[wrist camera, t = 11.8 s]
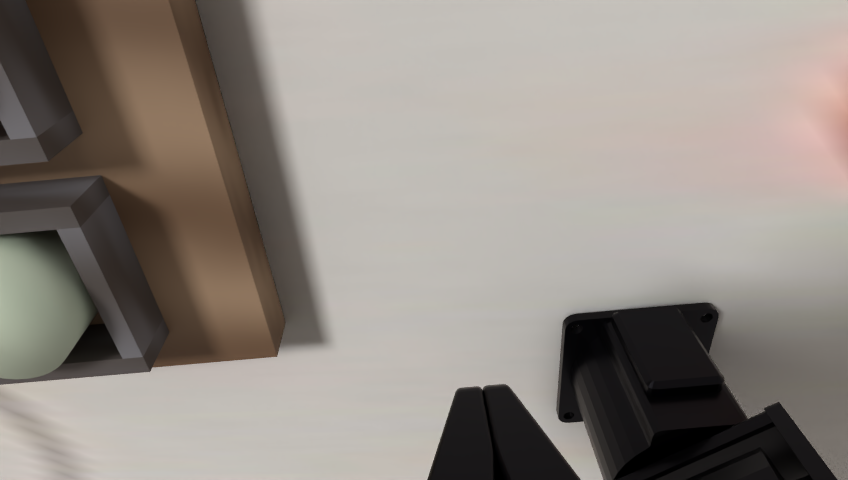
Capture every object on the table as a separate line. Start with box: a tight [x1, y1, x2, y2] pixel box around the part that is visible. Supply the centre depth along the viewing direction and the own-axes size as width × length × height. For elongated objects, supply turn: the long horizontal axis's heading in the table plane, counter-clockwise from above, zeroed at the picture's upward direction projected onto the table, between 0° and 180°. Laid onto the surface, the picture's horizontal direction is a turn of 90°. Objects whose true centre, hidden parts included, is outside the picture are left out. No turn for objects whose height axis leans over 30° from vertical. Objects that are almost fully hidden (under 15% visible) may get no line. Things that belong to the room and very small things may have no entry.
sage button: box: [0, 230, 98, 379], centre depth 18 cm, size 4×4×3 cm
